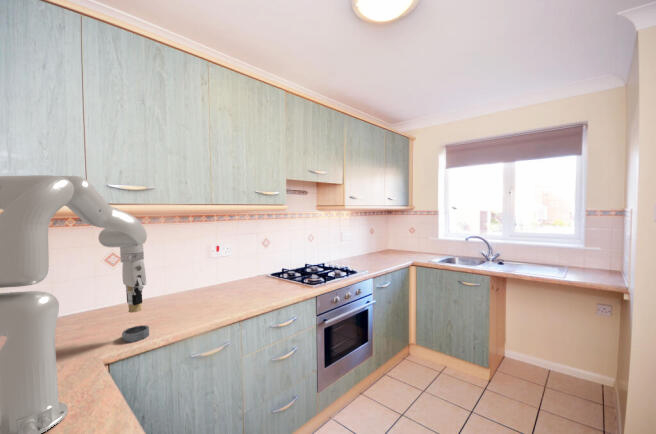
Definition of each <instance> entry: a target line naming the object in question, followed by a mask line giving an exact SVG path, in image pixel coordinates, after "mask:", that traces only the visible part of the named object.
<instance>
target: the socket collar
mask: <svg viewBox="0 0 656 434" xmlns="http://www.w3.org/2000/svg"><path fill="white" fill-rule="evenodd" d="M121 337H122V339H121V342H123V343H125V344H126V343H128V344H129V343H130V344H131V343H136V342H140V341H142V340H146V339H147V338H149V337H150V326H148V325H147V324H146V325H145V324H144V325H137V326H136V325H135V326H132V327H129V328H125V330H123V331H122V333H121Z"/></svg>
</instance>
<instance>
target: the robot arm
mask: <svg viewBox="0 0 656 434" xmlns="http://www.w3.org/2000/svg"><path fill="white" fill-rule="evenodd" d="M65 206H66V208H68V209H69V210H70V211H71V212H72V213H73V214H74V215H76V217H77V218H79V219H80V220H81V221H82V222H83V223H85V224H87V225H89V226H91V227H92V226H93V227H97V228H101V229H102V230H101V231H100V232H99V234H98V241H99V243H100V244H101V246H103V247H106V248H111V249H112V248H119V256H120V263H122V266H121V267H122V272H121V273H122V274H121V275H122V284H123V285H125V292H126V303H127V304H128V294H127V291H128V289H127V284H128V286H130V287H132V290H133V295H132V303H133V305H137V304H141V305H142V304H143V289H144V286H146V285H147V275H146V274H147V273H146V268H145V267H146V266H145V262H144V260H145V258H144V257H145V256H144V244H145V243H146V241H147V238H148V236H147V235H148V234H147V231H146V228H145V227H144V226H143V223H141V222H140V220H139V219H138V218H137V217H135V216H133V215H132V214H130V213H128V212H126V211H124V210H121V209H119V208H116V207H114V206H111V205H110V204H109V203H108V201H106V199H105V198H104V197H103V196H102V195H101V193H99V191H98V190H97V189H96V188H95V187H94V186H93V185H92V184H91V182H90V181H89V180H87V179H86V178H85V177H82V176H77V175H76V176H75V175H45V174H43V175H41V174H39V175H38V174H37V175H36V174H35V175H0V210H1V211H2V212H1V213H0V289H3V288H6V289H7V288H18V287H19V288H21V287H28V286H32V285H37V284H39V283H41V282H42V281H44V280H45V279H46V278H47V276H48V274H49V266H50V258H49V257H50V256H49V255H50V254H49V253H50V252H49V226H50V223H51V221H52V219H53V218H54V216H55V215H56V214H57V213H58V211H60V210H61V209H62V208H63V207H65ZM137 284H138V286H136V285H137ZM135 288H137V289H136V291H135ZM59 311H60V304H59V300H58V298H57V297H56V296H54V295H53V294H52V293H49V292H46V291H39V290H36V291H35V290H30V291H29V290H26V291H12V292H0V337H6V340H5V342H4V343H3V345H2V346H1V347H0V434H41V433H43V432H45V431H46V432H47V430H48V429H50V428H51V427H53V426H54V425H56V424H57V423H58V424H59V423H61V422H62V421H63V419H65V417H66V416H67V415H68V411H69V410H68V405H67V404H66V403H65V402H59V401H60V400H59V386H58V385H59V384H58V369H57V368H58V367H57V366H58V365H57V353H56V328H57V321H58V317H59ZM66 414H67V415H66ZM61 420H62V421H61ZM60 421H61V422H60ZM58 424H57V425H58ZM57 425H56V426H57ZM54 427H55V426H54ZM54 427H53V428H54ZM51 429H52V428H51ZM51 429H50V430H51ZM48 431H49V430H48ZM46 432H45V433H46ZM43 434H44V433H43Z"/></svg>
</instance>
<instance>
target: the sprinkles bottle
mask: <svg viewBox="0 0 656 434" xmlns="http://www.w3.org/2000/svg"><path fill="white" fill-rule="evenodd" d="M136 286H138V284H137V285H136ZM127 289H128V291H127V292H126V295H127V294H128V303H127V305H128V313H131V314H132V313H138V312H140V311H142V310H143V307H142V303H141V304H137V305H133V303H132V295H133V290H132V287H130V286H128V284H127ZM136 289H137V288H135V291H136Z"/></svg>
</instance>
